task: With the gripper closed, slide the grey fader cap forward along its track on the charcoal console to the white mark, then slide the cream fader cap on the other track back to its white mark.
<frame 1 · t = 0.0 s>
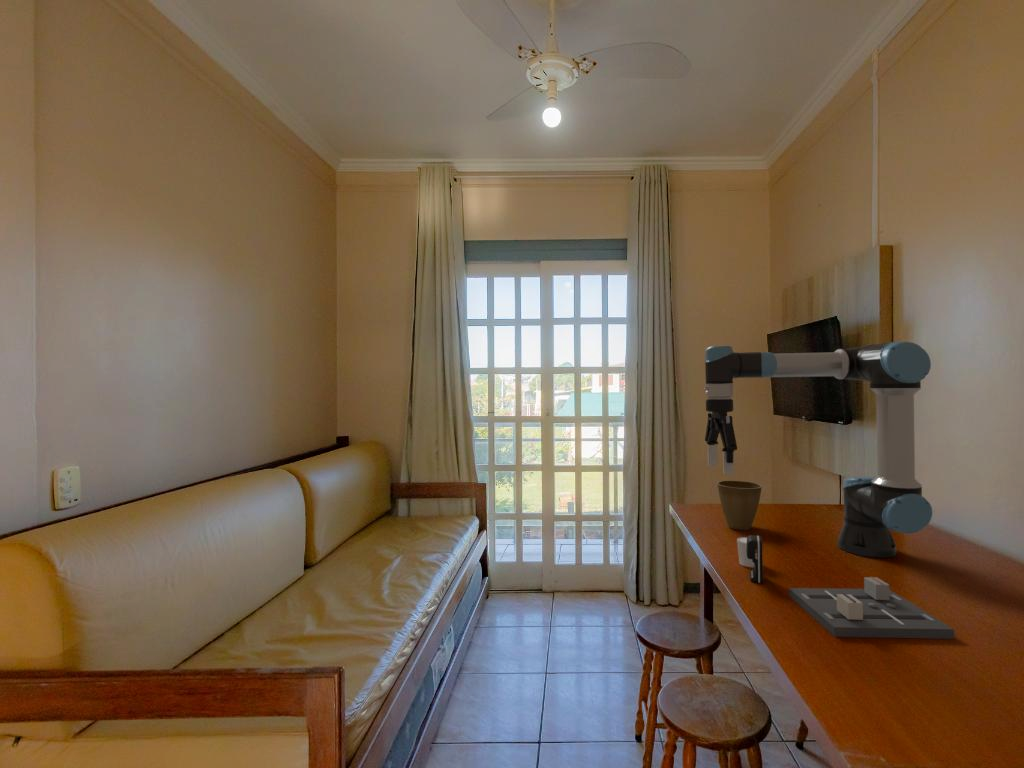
hand: (720, 469, 148), 28 cm above the table, fingers open, 13 cm apart
plant pot: (739, 527, 184), on the table
cream fader: (849, 606, 111), point 4 cm above the table, slide at 6.0 cm
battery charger: (754, 579, 137), on the table
grey fader: (876, 587, 120), point 4 cm above the table, slide at -6.0 cm
grey rimmed cylinder: (749, 564, 148), on the table
console: (863, 615, 115), on the table
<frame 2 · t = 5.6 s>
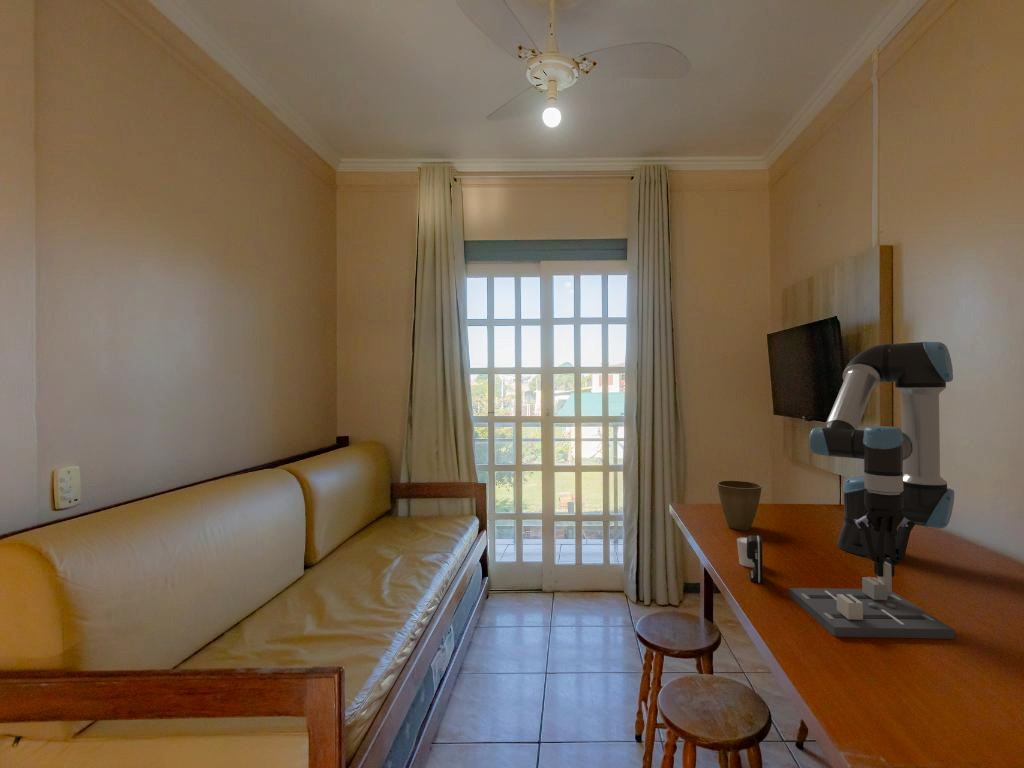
hand: (884, 589, 119), 4 cm above the table, fingers closed
grey fader: (874, 587, 120), point 4 cm above the table, slide at -5.5 cm, touching gripper
everything else where it was.
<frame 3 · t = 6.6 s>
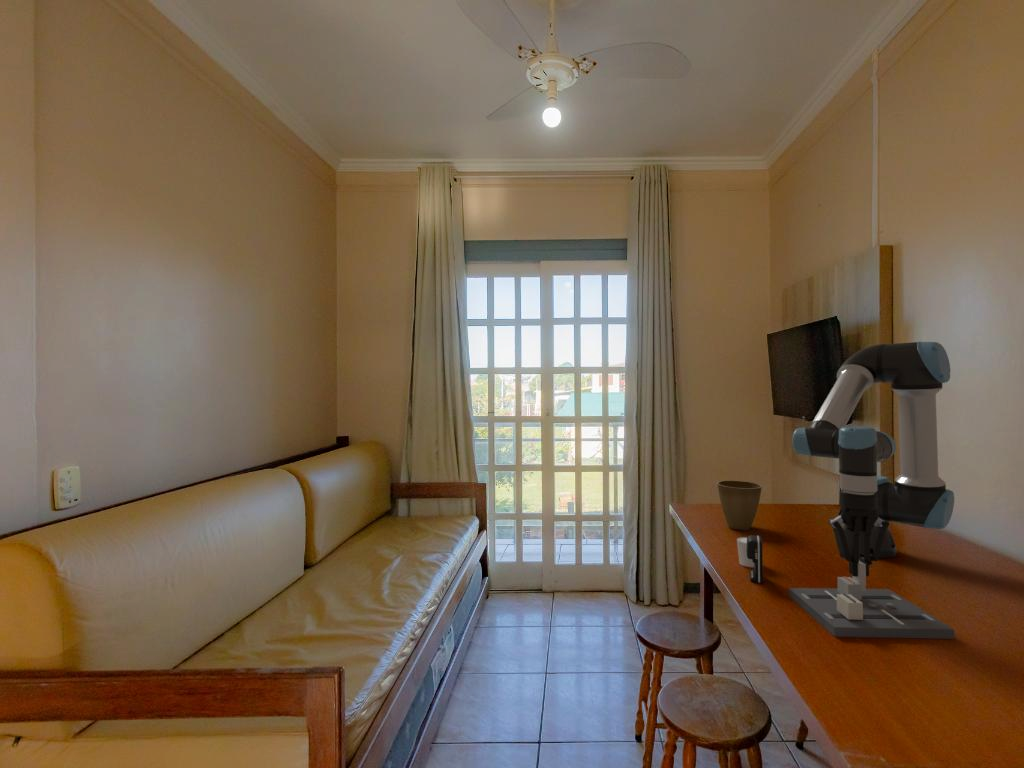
hand: (859, 589, 120), 4 cm above the table, fingers closed
grey fader: (849, 587, 120), point 4 cm above the table, slide at 0.3 cm, touching gripper
everything else where it was.
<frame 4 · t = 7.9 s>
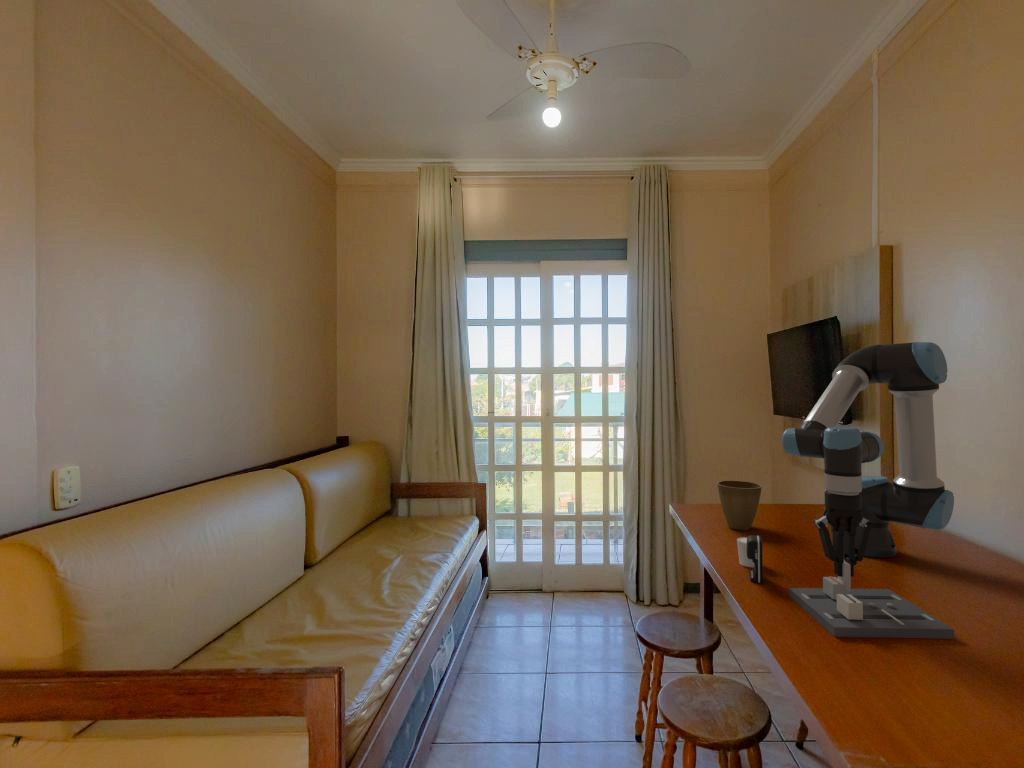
hand: (844, 589, 120), 4 cm above the table, fingers closed
grey fader: (834, 587, 120), point 4 cm above the table, slide at 3.7 cm, touching gripper
everything else where it was.
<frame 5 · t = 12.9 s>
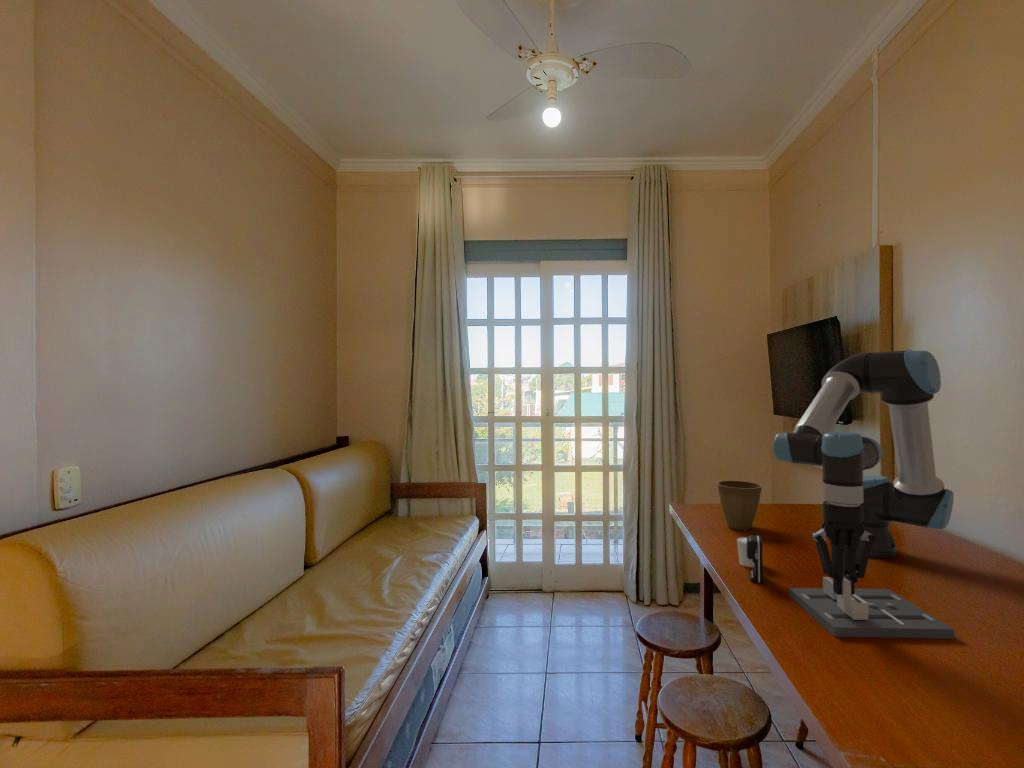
hand: (844, 608, 111), 4 cm above the table, fingers closed
cream fader: (854, 606, 110), point 4 cm above the table, slide at 4.9 cm, touching gripper
grey fader: (834, 587, 120), point 4 cm above the table, slide at 3.7 cm
everything else where it was.
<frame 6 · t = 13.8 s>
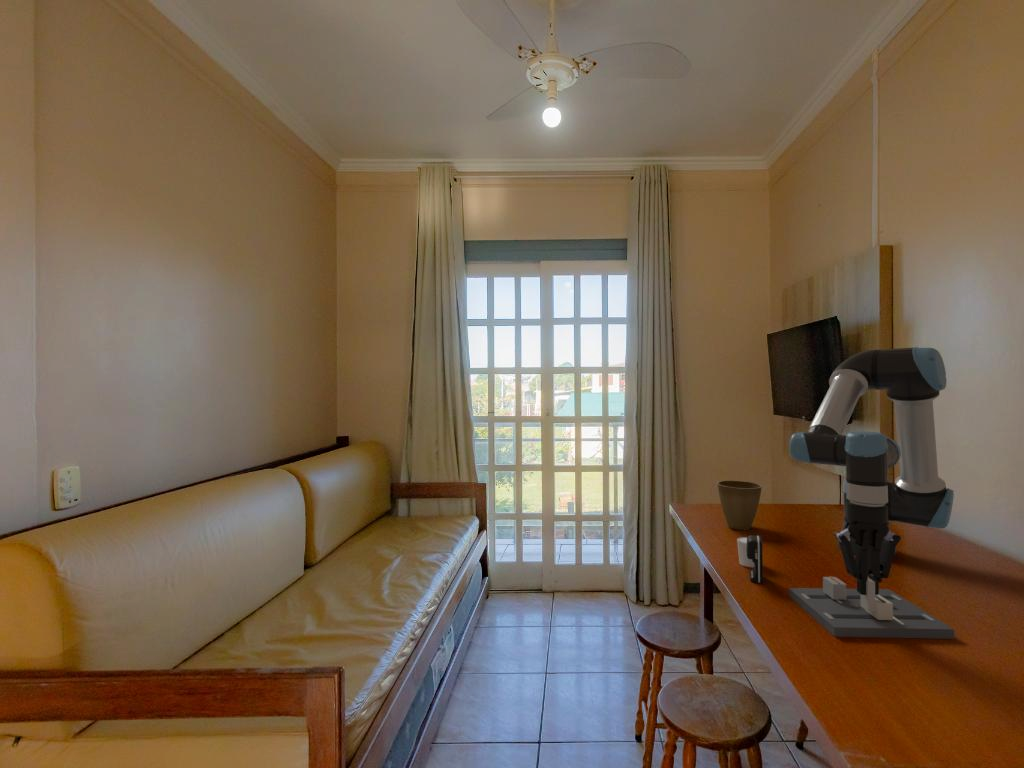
hand: (867, 608, 110), 4 cm above the table, fingers closed
cream fader: (878, 606, 110), point 4 cm above the table, slide at -0.2 cm, touching gripper
everything else where it was.
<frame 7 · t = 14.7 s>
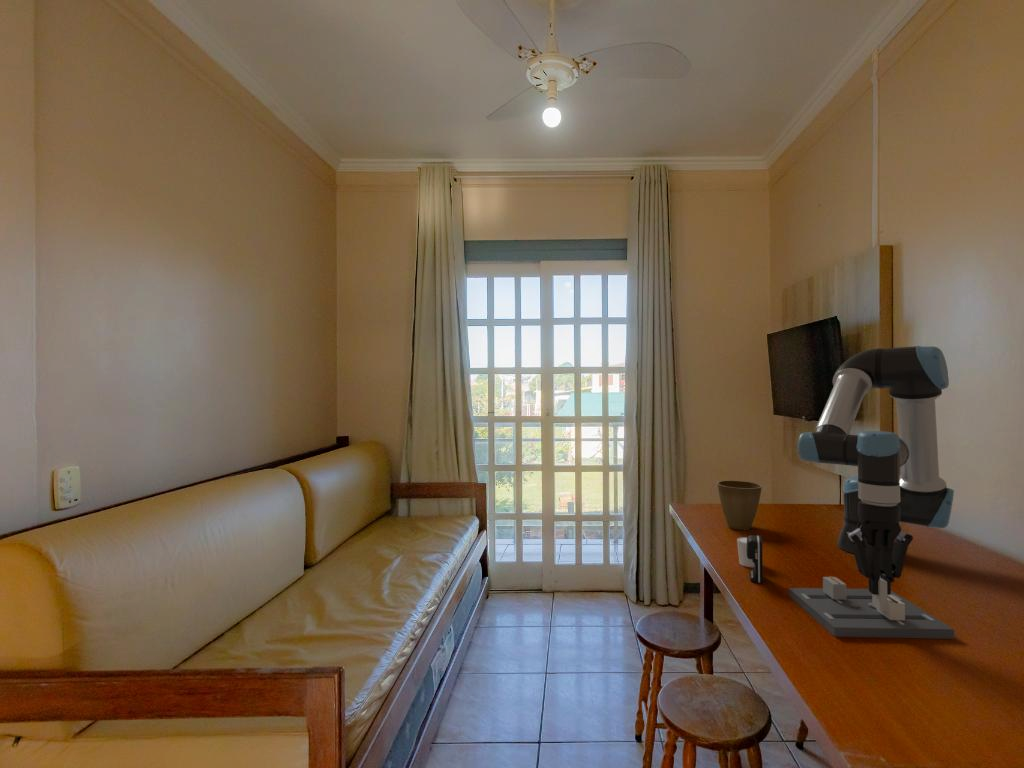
hand: (879, 608, 110), 4 cm above the table, fingers closed
cream fader: (890, 606, 110), point 4 cm above the table, slide at -2.7 cm, touching gripper
everything else where it was.
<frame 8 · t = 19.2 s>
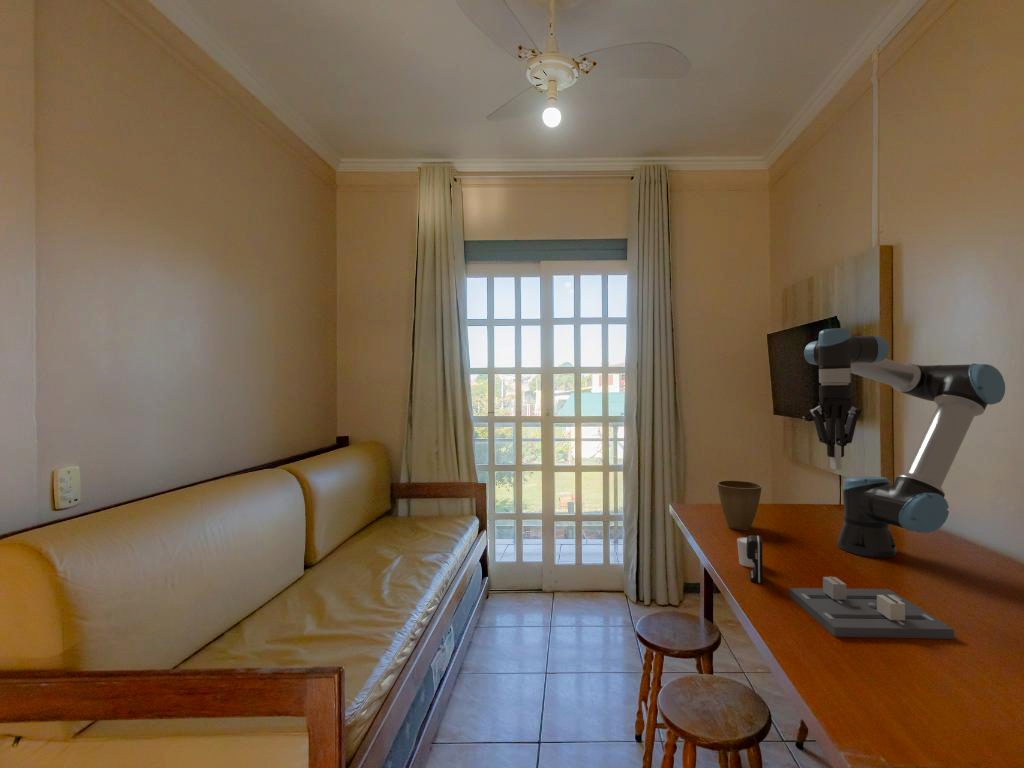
hand: (835, 468, 139), 29 cm above the table, fingers closed
cream fader: (890, 606, 110), point 4 cm above the table, slide at -2.7 cm
everything else where it was.
at the end: grey fader slide at 3.7 cm; cream fader slide at -2.7 cm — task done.
